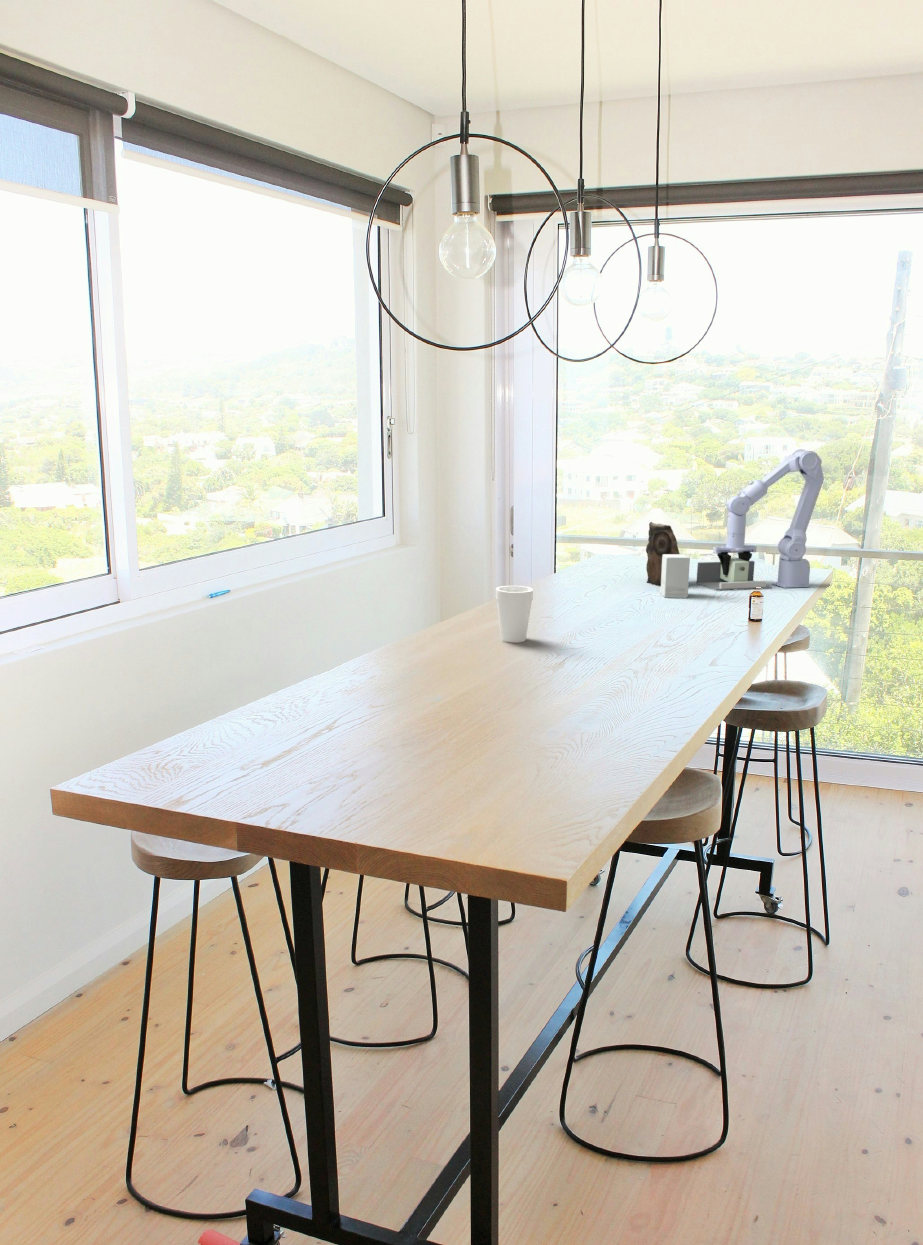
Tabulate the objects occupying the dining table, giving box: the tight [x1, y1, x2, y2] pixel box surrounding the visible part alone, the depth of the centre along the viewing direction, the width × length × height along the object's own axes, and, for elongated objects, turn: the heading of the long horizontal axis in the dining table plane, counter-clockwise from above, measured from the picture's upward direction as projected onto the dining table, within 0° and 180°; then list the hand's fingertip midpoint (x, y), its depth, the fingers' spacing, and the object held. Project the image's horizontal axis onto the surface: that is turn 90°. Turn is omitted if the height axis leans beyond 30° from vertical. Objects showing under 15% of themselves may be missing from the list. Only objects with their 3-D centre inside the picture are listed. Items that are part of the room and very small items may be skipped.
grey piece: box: [696, 560, 772, 591], centre depth 334 cm, size 20×13×7 cm, turn 104°
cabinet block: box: [720, 556, 749, 582], centre depth 333 cm, size 5×10×7 cm, turn 14°
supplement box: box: [659, 553, 691, 599], centre depth 315 cm, size 7×7×13 cm
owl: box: [645, 521, 680, 587], centre depth 335 cm, size 13×13×20 cm
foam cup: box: [495, 585, 534, 643], centre depth 257 cm, size 10×9×13 cm
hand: (733, 574), depth 334 cm, fingers closed on cabinet block, 5 cm apart
